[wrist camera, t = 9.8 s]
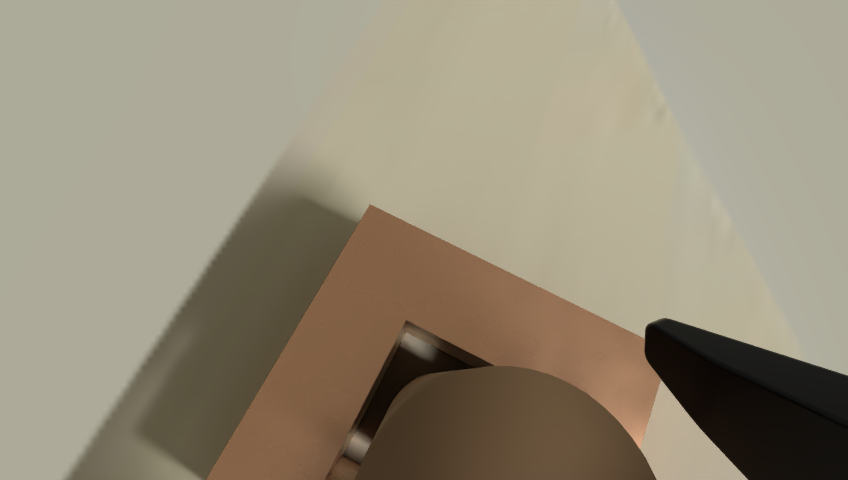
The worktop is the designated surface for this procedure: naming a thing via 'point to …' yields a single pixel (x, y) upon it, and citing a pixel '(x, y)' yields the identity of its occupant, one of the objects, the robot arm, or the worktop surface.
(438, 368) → the worktop surface
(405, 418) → the pin
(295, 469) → the hollow square frame
